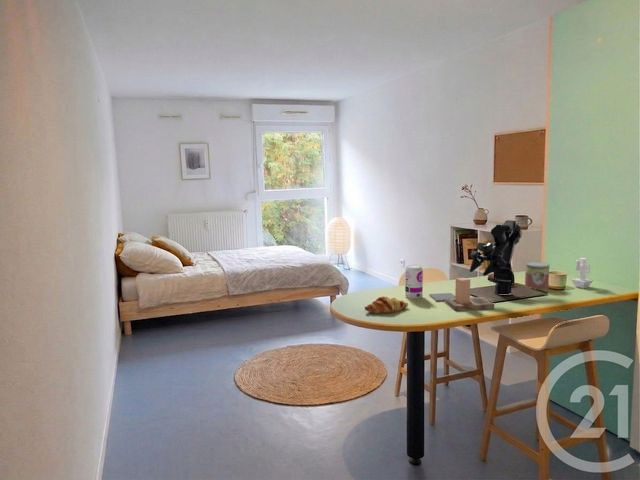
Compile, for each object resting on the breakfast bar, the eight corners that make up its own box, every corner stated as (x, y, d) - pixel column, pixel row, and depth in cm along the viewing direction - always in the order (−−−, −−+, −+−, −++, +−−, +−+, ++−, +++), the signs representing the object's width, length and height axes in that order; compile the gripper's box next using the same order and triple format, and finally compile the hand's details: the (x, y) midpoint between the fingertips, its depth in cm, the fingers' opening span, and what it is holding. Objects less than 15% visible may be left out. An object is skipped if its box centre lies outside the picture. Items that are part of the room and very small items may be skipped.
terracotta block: (463, 304, 225) (463, 277, 223) (469, 306, 221) (470, 279, 219) (455, 305, 223) (455, 278, 221) (461, 307, 219) (462, 280, 217)
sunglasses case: (521, 286, 255) (515, 275, 254) (510, 293, 254) (505, 283, 253) (500, 278, 273) (495, 269, 271) (490, 285, 272) (485, 276, 270)
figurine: (594, 287, 250) (596, 258, 248) (582, 289, 246) (584, 260, 244) (581, 284, 256) (582, 256, 254) (569, 286, 252) (570, 257, 250)
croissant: (404, 313, 224) (400, 296, 226) (415, 308, 215) (410, 291, 218) (362, 318, 216) (359, 301, 219) (371, 314, 208) (368, 295, 210)
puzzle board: (482, 301, 229) (482, 296, 229) (494, 308, 217) (494, 304, 216) (444, 302, 227) (445, 298, 227) (454, 310, 215) (454, 306, 215)
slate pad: (450, 294, 242) (450, 292, 242) (459, 300, 231) (459, 298, 231) (429, 295, 241) (429, 293, 241) (436, 301, 230) (436, 299, 230)
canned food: (526, 289, 249) (527, 266, 247) (523, 284, 260) (523, 261, 258) (550, 290, 246) (551, 266, 245) (546, 284, 257) (547, 262, 255)
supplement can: (425, 296, 239) (425, 266, 237) (416, 300, 234) (416, 269, 231) (411, 293, 245) (411, 264, 243) (402, 297, 239) (402, 267, 237)
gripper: (474, 234, 232) (454, 258, 230) (501, 238, 215) (480, 265, 213) (486, 249, 236) (467, 273, 234) (515, 255, 219) (494, 281, 217)
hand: (476, 273), depth 224 cm, fingers open, 9 cm apart
